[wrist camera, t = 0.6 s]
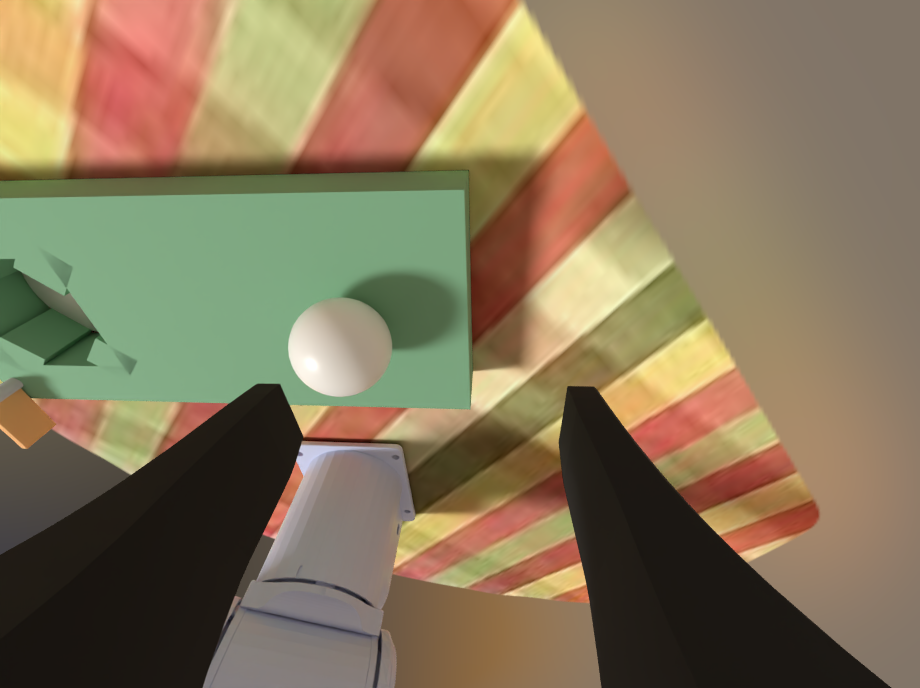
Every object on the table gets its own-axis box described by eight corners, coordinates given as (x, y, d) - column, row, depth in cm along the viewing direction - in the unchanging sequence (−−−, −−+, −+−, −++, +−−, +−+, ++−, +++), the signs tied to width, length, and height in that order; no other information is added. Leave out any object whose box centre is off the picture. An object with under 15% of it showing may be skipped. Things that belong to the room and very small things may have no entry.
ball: (405, 355, 18) (387, 419, 15) (323, 354, 18) (288, 416, 15) (394, 279, 16) (368, 335, 13) (300, 279, 16) (252, 334, 13)
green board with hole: (473, 397, 24) (469, 466, 20) (85, 388, 26) (10, 449, 22) (468, 170, 16) (460, 207, 12) (-88, 182, 18) (-257, 217, 14)
